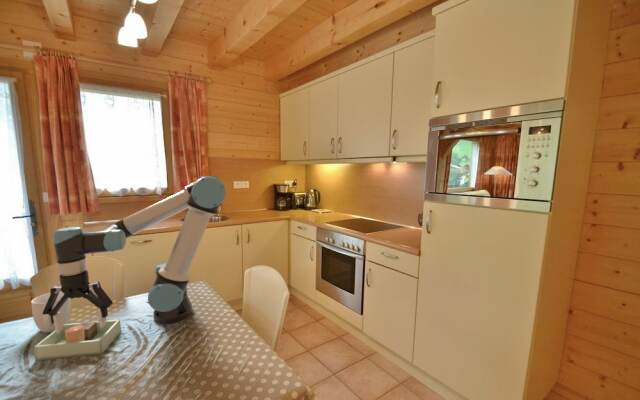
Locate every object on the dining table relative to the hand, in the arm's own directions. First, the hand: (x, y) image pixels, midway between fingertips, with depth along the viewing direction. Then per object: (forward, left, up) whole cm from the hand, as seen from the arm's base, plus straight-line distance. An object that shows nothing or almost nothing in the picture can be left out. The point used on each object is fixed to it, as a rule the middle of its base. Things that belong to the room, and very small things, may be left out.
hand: (81, 328), depth 101 cm
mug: (+18, -14, -7) cm, 24 cm away
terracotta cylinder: (+1, +2, -6) cm, 7 cm away
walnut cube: (+1, -4, -6) cm, 7 cm away
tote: (+1, -1, -7) cm, 7 cm away
